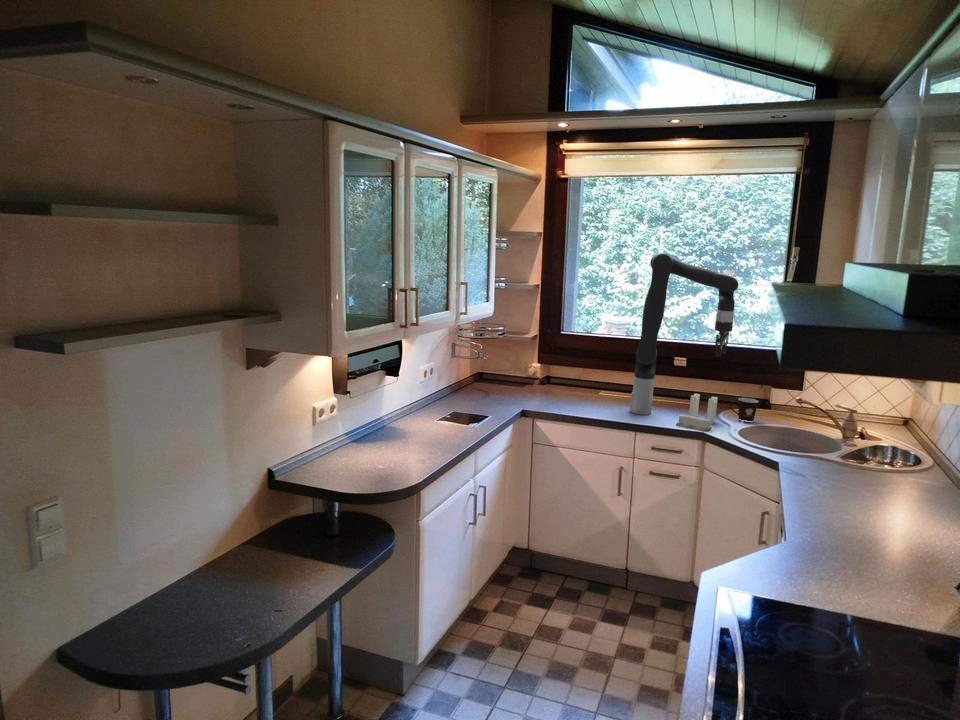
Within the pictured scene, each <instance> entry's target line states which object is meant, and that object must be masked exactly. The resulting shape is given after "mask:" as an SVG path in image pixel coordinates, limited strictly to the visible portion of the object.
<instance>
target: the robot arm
mask: <svg viewBox="0 0 960 720" xmlns="http://www.w3.org/2000/svg"><path fill="white" fill-rule="evenodd" d="M649 262H650V263H649V264H650V267H651V271H652V272H651V280H650V285H649V288H648V291H647V294H646V297H645V301H644V305H643V313H642V319H641V320H642V321H641V333H640V334H641V335H640V338H639V343H638V346H637V350H636V352H635V353H636V354H635V355H636V357H635V359H636V360H635V369H634V377H633V389H632V392H631V393H630V404H629V413H633V414H637V415H640V416H641V415H644V416H645V415H646V416H647V415H651V413H652V408H653V406H652V405H653V396H654V384H655V377H656V367H657V358H658V357H657V356H658V349H657V343H658V335H659V333H660V329H661V326H662V323H663V319H664V314H665V308H666V301H667V292H668V291H667V290H668V283H669V280H670V276H671V275H675V276H679V277H681V278H684V279H687V280H689V281H692V282H694V283H697V284H700V285H704V286H707V287H711V288H714V289H717V290H718V302H717V310H716V315H715V326H714V331H718V333H716V335H715V344H714V347H715V357H716V358H721V356H722V355H725V354H726V350H727V346H728V344H729V337H730V332H732V331H733V327H734V326H733V325H734V320H735V319H734V316H735V314H734V313H735V303H736V302H735V301H736V300H735V298H734V297H735V295H734V294H735V293H734V292H736V291H737V290H738V288H739V281H738V279H737V278H735V277H734V276H729V275H727V274H726V275H725V274H722V273H718V272H716V271H714V270H711V269H708V268H705V267H701V266H698V265H693V264H689V263H685V262H682V261H680V260H677V259H675V258H674V257H671V255H669V254H668V253H665V252H658V253H655V254H654V255H653V256H652V257H651V258H650V261H649Z"/></svg>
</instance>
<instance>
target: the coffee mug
mask: <svg viewBox="0 0 960 720" xmlns="http://www.w3.org/2000/svg"><path fill="white" fill-rule="evenodd" d="M732 404H737V407H738V412H737V411H736V410H734V409H733V408H732ZM758 405H759V400H757V399H755V398H749V397H739V398H738V402H737V401H732V402H730V404H729V408H730V410H731V411H732V412H734V413H735V414H736V415H737V416H738V420H739V419H741V420H747V421H753V420H755V416H756V412H757V408H758ZM753 422H754V421H753Z"/></svg>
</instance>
